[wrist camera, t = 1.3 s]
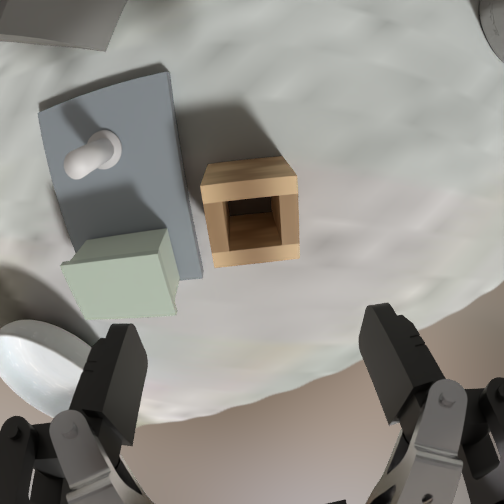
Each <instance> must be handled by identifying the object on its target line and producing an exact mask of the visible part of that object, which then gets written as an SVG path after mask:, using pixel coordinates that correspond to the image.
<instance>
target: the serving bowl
mask: <svg viewBox="0 0 504 504" xmlns="http://www.w3.org/2000/svg"><path fill="white" fill-rule="evenodd" d="M91 348H92V347H90V346H89V345H88V344H87V343H85V342H84V341H82V340H81V339H79V338H78V337H76V336H75V335H73V334H71V333H70V332H68V331H66V330H64V329H62V328H60V327H57V326H55V325H52V324H49V323H46V322H42V321H37V320H17V321H14V322H11V323H8V324H6V325H4V326H3V327H2V328H0V377H1V378H2V379H3V381H4V382H5V383H6V384H7V385H8V386H9V387H10V388H11V389H12V390H13V391H14V392H15V393H16V394H17V395H18V396H20V397H21V398H22V399H24V400H25V401H26V402H28V403H29V404H30V405H32V406H33V407H35V408H36V409H38V410H39V411H41V412H43V413H45V414H46V415H48V416H50V417H53V418H54V417H55V416H56V415H57V414H59V413H60V412H62V411H65V410H68V409H69V407H70V404H71V401H72V398H73V395H74V393H75V390H76V387H77V384H78V381H79V379H80V376H81V373H82V372H83V368H84V365H85V363H87V358H88V355H89V353H90V350H91Z"/></svg>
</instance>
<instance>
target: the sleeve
mask: <svg viewBox="0 0 504 504" xmlns="http://www.w3.org/2000/svg"><path fill="white" fill-rule="evenodd" d="M200 188H201V194H202V200H203V206H204V212H205V218H206V223H207V229H208V235H209V240H210V246H211V251H212V256H213V262H214V267H215V268H219V267H228V266H237V265H246V264H255V263H264V262H273V261H282V260H290V259H299V258H300V249H299V210H298V184H297V175H296V173H295V172H294V171H293V169H292V168H291V167H290V165H289V164H288V163H287V162H286V160H285V159H284V158H283V156H277V157H266V158H255V159H246V160H237V161H228V162H220V163H212V164H208V165H207V168H206V171H205V174H204V176H203V179H202V182H201V185H200ZM269 196H271V208H272V212H265V213H256V214H247V215H238V216H230V213H229V206H228V201H232V200H241V199H250V198H259V197H269Z"/></svg>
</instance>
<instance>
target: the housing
mask: <svg viewBox="0 0 504 504" xmlns="http://www.w3.org/2000/svg"><path fill="white" fill-rule="evenodd" d="M60 267H61V270H62V272H63V274H64V276H65V279H66V281H67V283H68V285H69V287H70V290H71V292H72V294H73V296H74V298H75V300H76V302H77V304H78V306H79V308H80V310H81V312H82V314H83V316H84V318H85V320H99V319H124V318H143V317H159V316H174V315H176V314H177V308H176V305H175V296H176V292H177V288H178V284H179V279H180V276H179V273H178V269H177V265H176V261H175V257H174V253H173V249H172V245H171V241H170V237H169V233H168V229H167V228H165V229H158V230H150V231H143V232H136V233H129V234H123V235H116V236H109V237H103V238H97V239H90V240H86V242H85V243H84V244H83V245H82V246H81V248H80V249H79V250H78V251H77V253H76V254H75V255H74V257H73V258H72V259H71V260H70V261H66V262H63V263H62V264H61V265H60Z"/></svg>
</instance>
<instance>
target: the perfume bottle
mask: <svg viewBox="0 0 504 504" xmlns="http://www.w3.org/2000/svg"><path fill="white" fill-rule="evenodd" d="M126 2H127V0H0V41H3V42H18V43H30V44H39V45H48V46H62V47H73V48H82V49H90V50H97V51H104V52H106V50H107V47H108V44H109V42H110V39H111V37H112V34H113V32H114V29H115V27H116V25H117V22H118V20H119V18H120V15H121V13H122V11H123V9H124V7H125V5H126Z"/></svg>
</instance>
